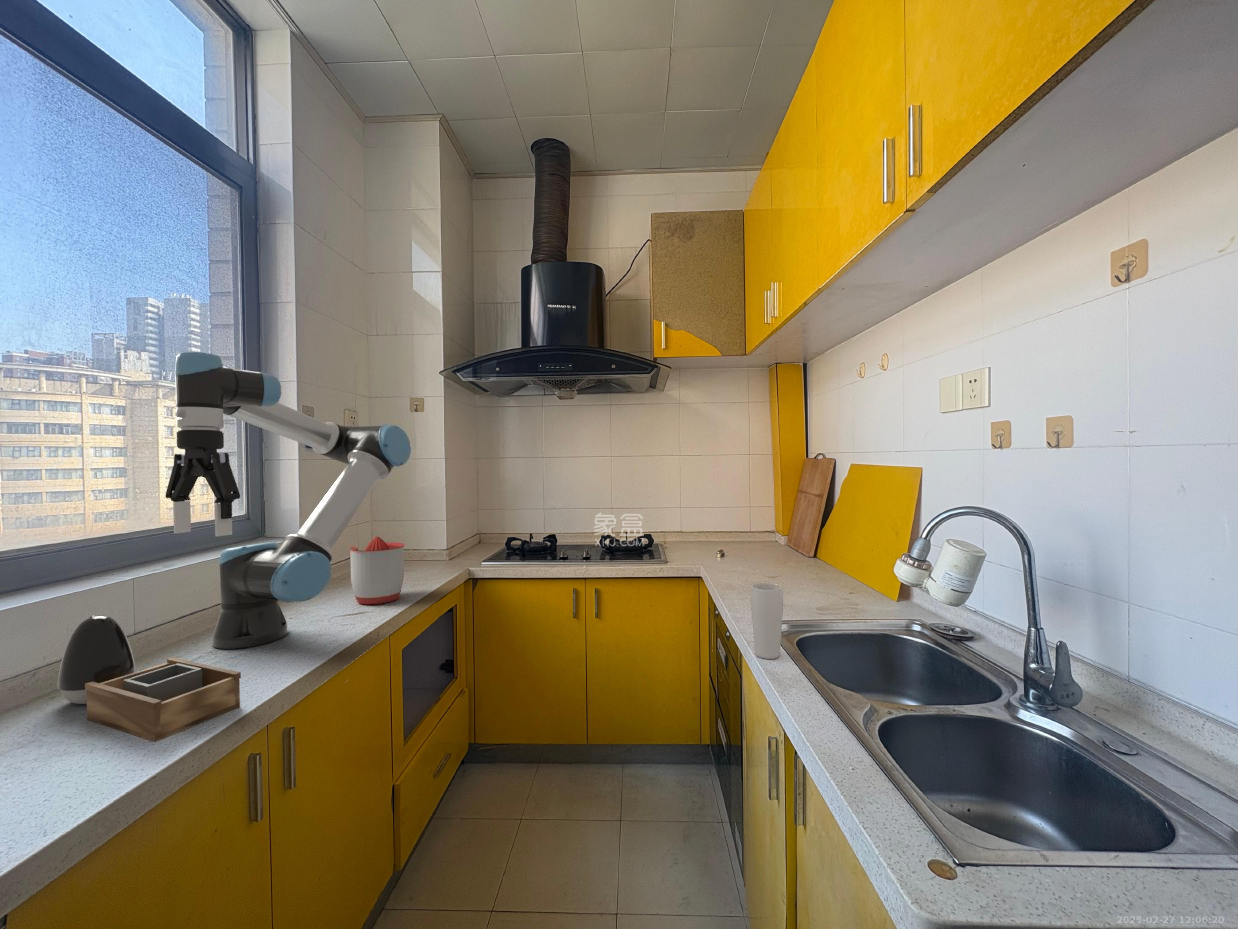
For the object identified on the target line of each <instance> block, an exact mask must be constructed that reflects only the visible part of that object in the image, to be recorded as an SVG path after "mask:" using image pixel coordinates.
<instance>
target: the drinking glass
mask: <svg viewBox="0 0 1238 929" xmlns="http://www.w3.org/2000/svg"><path fill="white" fill-rule="evenodd" d="M783 589H784V587H783V586H782V585H780V584H778V583H771V582H757V583H752V584H751V586H750V611H751V620H752V628H753V631H752V632H753V639H754V640H753V641H754V654H755V655H756V657H759V658H761V659H765V660H774V659H775V660H776V659H778V658H779V657H780V656H781V642H782V641H781V640H782V628H783V627H782V626H783V616H784V590H783Z"/></svg>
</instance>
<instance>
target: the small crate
mask: <svg viewBox="0 0 1238 929" xmlns="http://www.w3.org/2000/svg"><path fill="white" fill-rule="evenodd" d="M199 688H202V668H197V667H193V666H188V665H184V664H179V663H177V664H174V665H171V666H167V667H164V668H161V669H158V670H155V671H151V672H148V673H145V674H142V675H138V676H135V677H132V678H129V679H126V680H123V690H125V691H129V692H132V693H136V694H139V695H143V696H147V697H150V698H154V699H157V700H161V701H162V702H163V701H166V700H169V699H172V698H174V697H177V696H180V695H183V694H185V693H188V692H191V691H194V690H197V689H199Z"/></svg>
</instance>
